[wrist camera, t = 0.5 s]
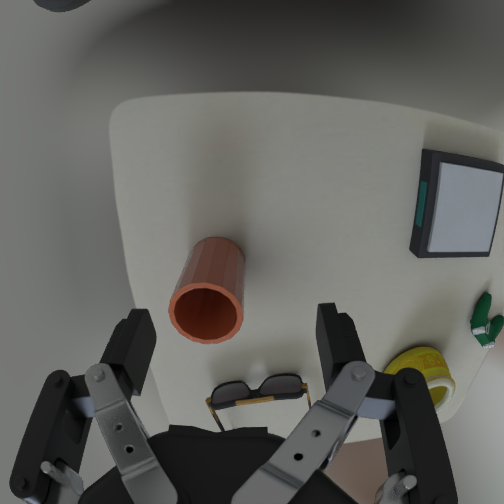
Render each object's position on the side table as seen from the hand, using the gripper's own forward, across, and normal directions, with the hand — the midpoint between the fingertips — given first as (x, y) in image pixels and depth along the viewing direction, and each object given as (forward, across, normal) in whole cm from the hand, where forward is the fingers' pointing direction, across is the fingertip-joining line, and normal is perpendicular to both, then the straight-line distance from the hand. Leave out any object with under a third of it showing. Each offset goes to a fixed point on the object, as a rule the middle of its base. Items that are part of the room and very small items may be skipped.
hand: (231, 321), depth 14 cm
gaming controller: (+18, -36, +20) cm, 45 cm away
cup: (+18, +4, +8) cm, 21 cm away
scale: (+20, -25, +2) cm, 32 cm away
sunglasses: (+16, -1, +33) cm, 37 cm away
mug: (+17, -22, +29) cm, 40 cm away
